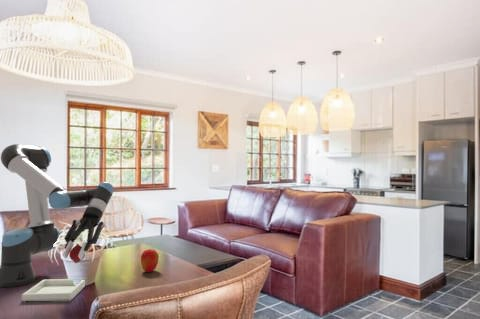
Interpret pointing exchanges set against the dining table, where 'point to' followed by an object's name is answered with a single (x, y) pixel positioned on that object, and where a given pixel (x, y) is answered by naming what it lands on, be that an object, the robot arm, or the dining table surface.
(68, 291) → the dish
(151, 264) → the apple
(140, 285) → the dining table surface
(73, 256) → the onion
